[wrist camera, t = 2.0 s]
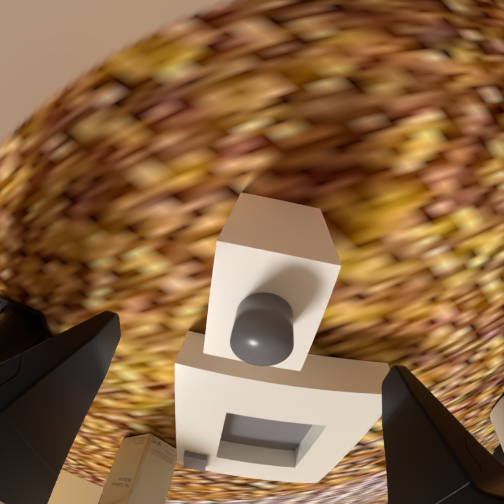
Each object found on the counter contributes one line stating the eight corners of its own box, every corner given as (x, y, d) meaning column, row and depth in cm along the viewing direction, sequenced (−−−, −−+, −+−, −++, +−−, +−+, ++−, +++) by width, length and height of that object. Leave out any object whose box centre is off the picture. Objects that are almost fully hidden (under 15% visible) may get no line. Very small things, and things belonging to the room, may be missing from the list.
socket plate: (184, 440, 26) (176, 468, 23) (187, 330, 19) (172, 370, 16) (316, 459, 26) (316, 487, 23) (387, 362, 19) (399, 401, 16)
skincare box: (150, 431, 26) (117, 527, 15) (181, 450, 27) (156, 542, 16) (121, 438, 28) (89, 519, 17) (150, 455, 30) (124, 534, 19)
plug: (227, 278, 17) (194, 380, 10) (241, 192, 15) (205, 263, 8) (296, 292, 17) (301, 399, 10) (320, 208, 15) (349, 291, 8)
